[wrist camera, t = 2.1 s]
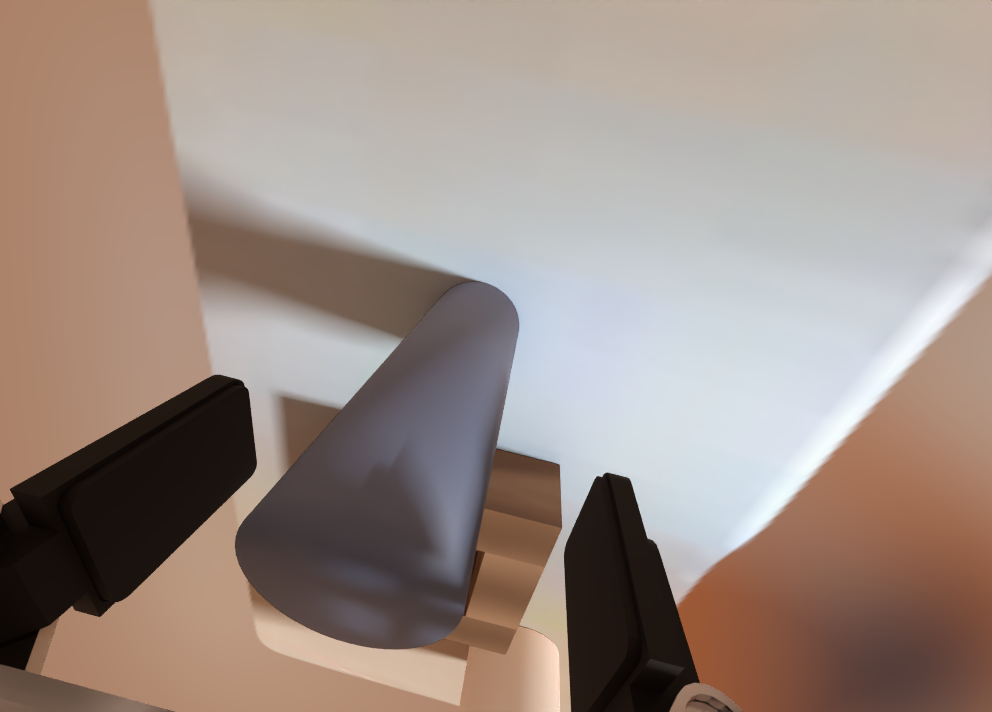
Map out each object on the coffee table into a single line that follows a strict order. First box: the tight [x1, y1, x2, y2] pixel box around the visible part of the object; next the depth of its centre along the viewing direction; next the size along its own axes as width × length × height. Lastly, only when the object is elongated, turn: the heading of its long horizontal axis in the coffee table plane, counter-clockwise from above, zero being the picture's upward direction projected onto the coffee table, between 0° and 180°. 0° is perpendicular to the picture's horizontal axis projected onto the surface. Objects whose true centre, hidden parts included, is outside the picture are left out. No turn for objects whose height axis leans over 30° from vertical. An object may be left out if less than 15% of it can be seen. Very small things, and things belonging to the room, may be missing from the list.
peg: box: [235, 282, 519, 649], centre depth 11 cm, size 4×4×12 cm
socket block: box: [443, 449, 562, 655], centre depth 21 cm, size 12×12×4 cm
